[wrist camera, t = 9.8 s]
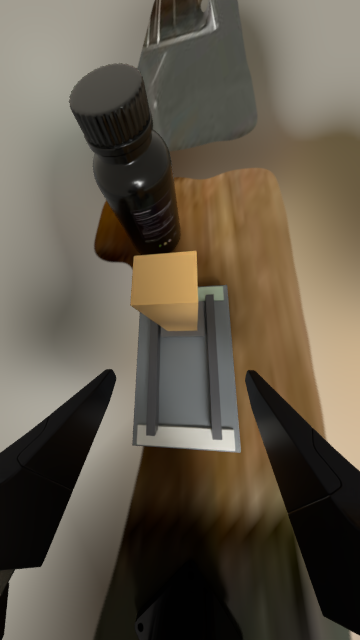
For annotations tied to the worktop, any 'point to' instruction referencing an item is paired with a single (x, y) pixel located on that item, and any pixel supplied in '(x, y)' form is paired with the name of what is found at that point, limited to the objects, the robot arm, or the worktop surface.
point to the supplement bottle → (128, 155)
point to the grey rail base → (188, 383)
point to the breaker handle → (169, 292)
